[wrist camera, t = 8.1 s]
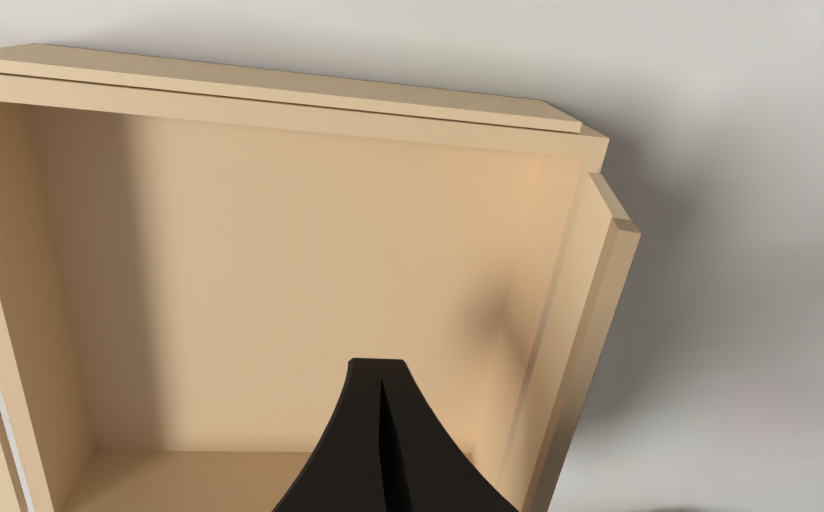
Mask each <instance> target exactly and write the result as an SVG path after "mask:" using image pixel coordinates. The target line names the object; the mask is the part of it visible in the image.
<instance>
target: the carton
mask: <svg viewBox="0 0 824 512" xmlns="http://www.w3.org/2000/svg"><path fill="white" fill-rule="evenodd" d="M609 140H610V138H608V137H607V136H605V135H603V134H601V133H599V132H597V131H595V130H594V129H592V128H590V127H588V126H586V125H584V124H582V122H581V121H579V120H577V119H575V118H573V117H571V116H570V115H568V114H566V113H564V112H562V111H560V110H558V109H557V108H555V107H553V106H551V105H549V104H547V103H545V102H543V101H542V100H533V99H525V98H516V97H507V96H498V95H489V94H480V93H471V92H462V91H454V90H445V89H436V88H427V87H418V86H409V85H400V84H392V83H383V82H374V81H365V80H356V79H347V78H338V77H329V76H321V75H312V74H303V73H294V72H285V71H276V70H267V69H258V68H250V67H241V66H232V65H223V64H214V63H205V62H196V61H187V60H179V59H170V58H161V57H152V56H143V55H134V54H125V53H117V52H108V51H99V50H90V49H81V48H72V47H63V46H54V45H46V44H37V43H32V44H25V45H18V46H11V47H4V48H0V387H1V391H2V394H3V398H4V402H5V405H6V409H7V412H8V416H9V420H10V423H11V427H12V430H13V434H14V438H15V441H16V445H17V449H18V452H19V456H20V459H21V463H22V467H23V470H24V474H25V478H26V481H27V485H28V488H29V492H30V496H31V499H32V503H33V506H34V510H35V512H271V511H272V510H273V509H274V508H275V506H276V505H277V504H278V503H279V501H280V500H281V499H282V497H283V496H284V494H285V493H286V492H287V490H288V489H289V487H290V486H291V485H292V483H293V482H294V480H295V479H296V477H297V476H298V475H299V473H300V472H301V470H302V468H303V467H304V465H305V464H306V462H307V461H308V459H309V457H310V456H311V454H312V452H313V450H314V449H315V447H316V445H317V443H318V442H319V440H320V438H321V436H322V434H323V432H324V430H325V428H326V426H327V424H328V422H329V420H330V418H331V416H332V414H333V411H334V409H335V407H336V404H337V402H338V399H339V397H340V394H341V392H342V389H343V386H344V382H345V379H346V375H347V369H348V361H349V360H351V359H352V358H378V359H403V360H404V361H405V362H406V364H407V366H408V368H409V370H410V372H411V374H412V376H413V378H414V380H415V382H416V384H417V385H418V387H419V389H420V391H421V392H422V394H423V396H424V398H425V399H426V401H427V403H428V404H429V406H430V407H431V409H432V410H433V412H434V413H435V415H436V416H437V418H438V420H439V421H440V423H441V424H442V425H443V427H444V428H445V430H446V431H447V433H448V434H449V435H450V437H451V438H452V439H453V441H454V442H455V443H456V445H457V446H458V447H459V448H460V450H461V451H462V452H463V453H464V455H465V456H466V457H467V458H468V460H469V461H470V462H471V463H472V464H473V465H474V467H475V468H476V469H477V470H478V471H479V472H480V473H481V474H482V476H483V477H484V478H485V479H486V480H487V481H488V482H489V483H490V484H491V485H492V486H493V487H494V488H495V489H496V490H497V491H498V492H500V489H501V485H502V482H503V478H504V474H505V471H506V467H507V463H508V460H509V456H510V453H511V449H512V445H513V442H514V438H515V434H516V431H517V427H518V424H519V420H520V416H521V413H522V409H523V405H524V402H525V398H526V395H527V391H528V387H529V384H530V380H531V376H532V373H533V369H534V366H535V362H536V358H537V355H538V351H539V347H540V344H541V340H542V337H543V333H544V329H545V326H546V322H547V318H548V315H549V311H550V308H551V304H552V300H553V297H554V293H555V289H556V286H557V282H558V279H559V275H560V271H561V268H562V264H563V260H564V257H565V253H566V250H567V246H568V242H569V239H570V235H571V231H572V228H573V224H574V221H575V217H576V213H577V210H578V206H579V202H580V199H581V195H582V192H583V188H584V184H585V181H586V177H587V173H588V172H591V173H597V174H600V171H601V168H602V164H603V161H604V157H605V154H606V150H607V147H608V143H609Z"/></svg>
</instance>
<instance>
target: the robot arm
mask: <svg viewBox="0 0 824 512" xmlns="http://www.w3.org/2000/svg"><path fill="white" fill-rule="evenodd" d="M271 512H519V511H518V510H517V509H516V508H515V507H514V506H513V505H512V504H511V503H510V502H509V501H507V500H506V499H505V498H504V497H503V496H502V495H501V494H500V493H499V492H498V491H497V490H496V489H495V488H494V487H493V486H492V485H491V484H490V483H489V482H488V481H487V480H486V479H485V478H484V477H483V476H482V474H481V473H480V472H479V471H478V470H477V469H476V468H475V467H474V465H473V464H472V463H471V462H470V461H469V460H468V458H467V457H466V456H465V455H464V453H463V452H462V451H461V450H460V448H459V447H458V446H457V445H456V443H455V442H454V441H453V439H452V438H451V437H450V435H449V434H448V433H447V431H446V430H445V428H444V427H443V425H442V424H441V423H440V421H439V420H438V418H437V416H436V415H435V413H434V412H433V410H432V409H431V407H430V406H429V404H428V403H427V401H426V399H425V398H424V396H423V394H422V392H421V391H420V389H419V387H418V385H417V384H416V382H415V380H414V378H413V376H412V374H411V372H410V370H409V368H408V366H407V364H406V362H405V361H404V360H403V359H378V358H352V359H351V360H349V361H348V369H347V375H346V379H345V382H344V386H343V389H342V392H341V394H340V397H339V399H338V402H337V404H336V407H335V409H334V411H333V414H332V416H331V418H330V420H329V422H328V424H327V426H326V428H325V430H324V432H323V434H322V436H321V438H320V440H319V442H318V443H317V445H316V447H315V449H314V450H313V452H312V454H311V456H310V457H309V459H308V461H307V462H306V464H305V465H304V467H303V468H302V470H301V472H300V473H299V475H298V476H297V477H296V479H295V480H294V482H293V483H292V485H291V486H290V487H289V489H288V490H287V492H286V493H285V494H284V496H283V497H282V499H281V500H280V501H279V503H278V504H277V505H276V506H275V508H274V509H273V510H272V511H271Z"/></svg>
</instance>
